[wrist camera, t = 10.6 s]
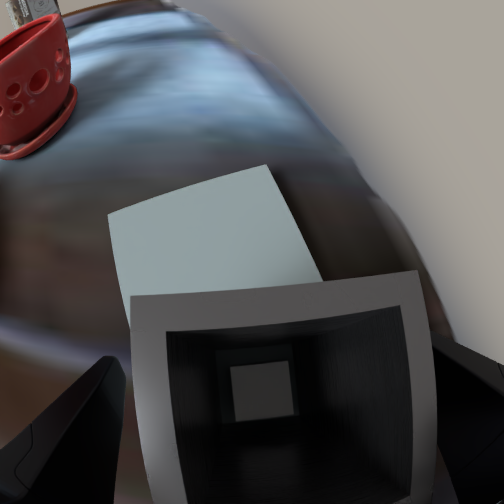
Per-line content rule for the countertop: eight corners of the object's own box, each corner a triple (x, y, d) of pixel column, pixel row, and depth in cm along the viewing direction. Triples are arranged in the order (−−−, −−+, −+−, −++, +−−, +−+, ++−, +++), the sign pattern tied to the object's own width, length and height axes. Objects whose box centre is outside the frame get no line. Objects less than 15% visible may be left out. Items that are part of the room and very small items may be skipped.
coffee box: (70, 36, 32) (52, -25, 17) (46, 54, 30) (23, -10, 15) (47, 41, 33) (29, -13, 18) (25, 58, 30) (4, 3, 16)
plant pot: (6, 195, 18) (-61, 117, 7) (-4, 138, 22) (-44, 77, 10) (107, 111, 22) (72, 11, 11) (73, 77, 25) (48, 7, 14)
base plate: (360, 395, 15) (397, 403, 10) (188, 461, 13) (172, 491, 8) (264, 177, 20) (270, 133, 16) (115, 224, 18) (89, 189, 14)
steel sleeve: (311, 422, 13) (431, 503, 3) (212, 434, 12) (170, 555, 2) (301, 330, 14) (417, 269, 5) (203, 339, 14) (130, 296, 4)
